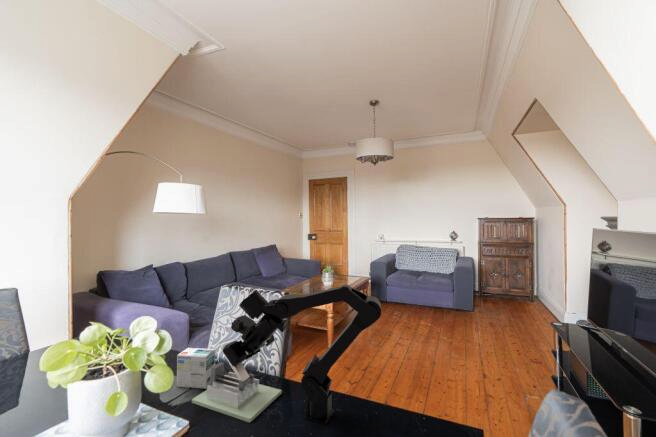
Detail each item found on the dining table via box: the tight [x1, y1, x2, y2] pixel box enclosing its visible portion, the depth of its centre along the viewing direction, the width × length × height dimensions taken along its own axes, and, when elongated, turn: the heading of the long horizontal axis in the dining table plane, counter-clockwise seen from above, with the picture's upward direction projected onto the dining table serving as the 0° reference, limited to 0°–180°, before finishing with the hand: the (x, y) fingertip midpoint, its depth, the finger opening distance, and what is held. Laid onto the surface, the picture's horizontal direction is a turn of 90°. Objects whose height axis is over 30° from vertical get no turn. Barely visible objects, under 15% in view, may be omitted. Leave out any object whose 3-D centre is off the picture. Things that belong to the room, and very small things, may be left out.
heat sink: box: [206, 361, 260, 409], centre depth 94 cm, size 13×10×8 cm
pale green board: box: [191, 383, 283, 423], centre depth 94 cm, size 22×16×1 cm
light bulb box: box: [176, 347, 216, 390], centre depth 102 cm, size 11×7×11 cm, turn 84°
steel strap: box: [220, 342, 252, 387], centre depth 93 cm, size 14×3×2 cm
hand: (235, 361), depth 93 cm, fingers closed, pressing on steel strap
